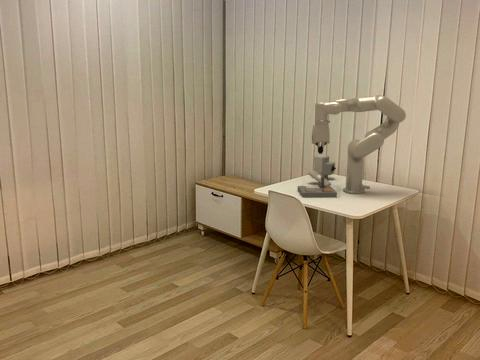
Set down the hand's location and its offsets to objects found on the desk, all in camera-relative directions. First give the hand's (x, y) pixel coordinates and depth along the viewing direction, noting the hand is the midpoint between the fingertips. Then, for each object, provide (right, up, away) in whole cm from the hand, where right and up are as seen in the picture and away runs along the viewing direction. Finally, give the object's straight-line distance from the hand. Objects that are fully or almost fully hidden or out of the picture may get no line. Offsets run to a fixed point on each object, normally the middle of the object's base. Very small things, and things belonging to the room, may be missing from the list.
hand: (320, 153), depth 284 cm
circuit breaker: (+9, -15, +37) cm, 41 cm away
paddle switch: (+1, -20, +1) cm, 20 cm away
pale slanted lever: (+3, -19, +21) cm, 28 cm away
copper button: (+2, -24, -7) cm, 25 cm away
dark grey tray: (-3, -24, -3) cm, 25 cm away
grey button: (-8, -23, -8) cm, 25 cm away
